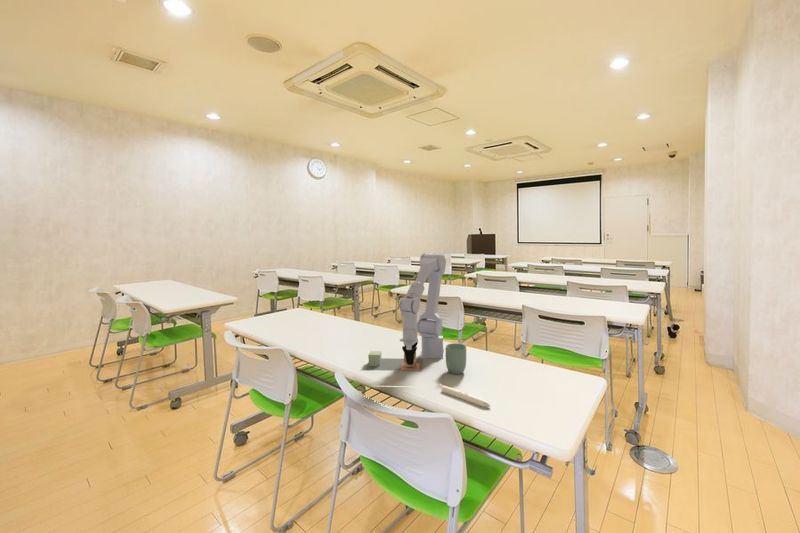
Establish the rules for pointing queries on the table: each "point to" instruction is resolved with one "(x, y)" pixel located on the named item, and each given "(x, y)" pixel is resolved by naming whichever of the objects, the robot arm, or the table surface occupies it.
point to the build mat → (396, 365)
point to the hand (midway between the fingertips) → (410, 362)
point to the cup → (456, 358)
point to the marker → (465, 396)
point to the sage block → (374, 358)
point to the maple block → (413, 361)
